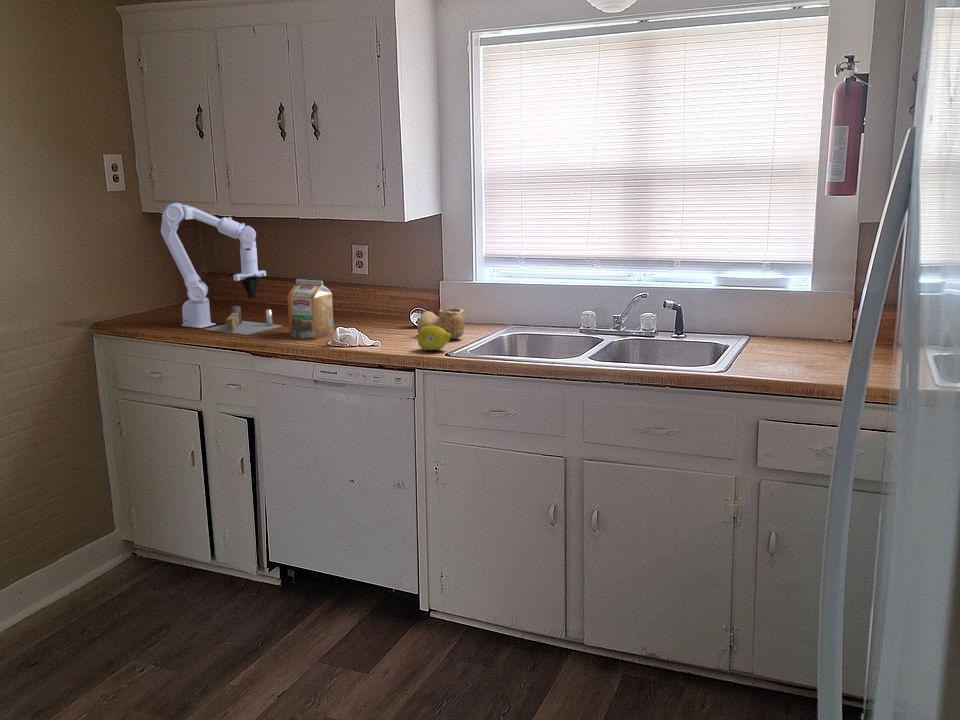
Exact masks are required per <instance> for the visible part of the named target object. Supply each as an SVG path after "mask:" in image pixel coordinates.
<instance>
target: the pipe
mask: <svg viewBox="0 0 960 720" xmlns="http://www.w3.org/2000/svg"><path fill="white" fill-rule="evenodd" d="M465 323H466V315H465V309H463V308H453V307H450V308H447V309H439V310H438V316H437V315H436V314H435V313H434V312H433V311H430V310H428V311H427V310H425V311H424V312H423V313H421V315H420V317H419V319H418V321H417V326H416V327H417V328H416V329H417V333H418V334H419V331H420V330H421V329H422V328H423V327H426V326H437V327H440V328H442V329H444V330H445V331H446V332H448V333H449V334H450V340H449V341H453V340H456V339H459V338H461V337H463V336H464V329H465ZM452 339H453V340H452Z"/></svg>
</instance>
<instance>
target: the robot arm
mask: <svg viewBox="0 0 960 720" xmlns="http://www.w3.org/2000/svg"><path fill="white" fill-rule="evenodd" d="M183 220H197V221H199V222H202V223H205V224H207V225H209V226H213V227H215V228H216V229H217V231H218V233H221V234H223V235H225V236H228V237H230V238H233V239H234V240H239V242H240V243H239V244H240V248H239V252H240V267H241V272H240V273H236V274H233V281H236V282H237V281H238V282H239V281H240V283H241V284H242V286H243V287H244V289H245V293H246V295H247V298H248V299H256V293H257V290H258V286H259V284H260V282H261V278H260V277H267V271H266V270H259V267H258V251H257V250H258V249H257V242H256V238H257V232H256V231H255V228H253V227H252V226H250V225H246V223H244V222H242V223H240V222H239V221H235V220H233V218H232V217H230V216H228V217H225V216H224V217H222V218H218V217H217V216H215V215H212V214H210V213H207V212H206V211H203V210H201V209H199V208H197V207H194V206H192V205H191V206H190V205H187V204H183V203H180V202H173V203H169V204H168V205H167V206H166V207H165V209H164V210H163V212H162V215H161V226H160V235H161V236H162V238H163V240H164V242H165V244H166V246H167V249H168V250H169V253H170V254H171V256H172V258H173V260H174V262H175V264H176V266H177V268H178V271H179V272H180V274H181V275H182V278H183V280H184V285H185V287H186V290H187V293H186V294H187V297H188V298H189V299H188V300H186V301H184V303H183V304H182V308H181V312H182V314H181V315H182V324H181V326H182V327H188V328H195V329H196V328H197V329H202V328H203V329H204V328H207V327H213V326H215V325H216V326H217V322H216V323H215V322H212V321H211V309H210V306H211V305H210V299H209V298H208V297H207V295H208V294H209V287H208V285H207V284H206V282H204V281H202V279H201V276H200V275H199V274H198V272H197V271H196V270H195V268H194V265H193V263H192V261H191V259H190V257H189V255H188V253H187V251H186V249H185V247H184V244H183V243H182V241H181V239H180V237H179V235H178V233H177V231H178V229H179V226H180V224H181V222H182V221H183Z"/></svg>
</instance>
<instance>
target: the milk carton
mask: <svg viewBox="0 0 960 720" xmlns="http://www.w3.org/2000/svg"><path fill="white" fill-rule="evenodd" d="M333 309H334V308H333V293H332V292H331V290H330V289H329V288H327V287H326V286H325V285H324V281H323V280H314V279H313V280H311V279H310V280H309V279H298V278H297V279H295V284H294V285H293V287H292V288H291V290H289V293H288V294H287V313H288V329H289V338H291V337H292V338H293V339H301V338H302V340H312V339H313V341H317V340H321V339H322V338H326V337H329V336H331V335H334V334H333V332H334V331H335V330H334V312H333V311H334V310H333ZM334 333H335V332H334ZM328 335H329V336H328Z"/></svg>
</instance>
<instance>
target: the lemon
mask: <svg viewBox="0 0 960 720" xmlns="http://www.w3.org/2000/svg"><path fill="white" fill-rule="evenodd" d="M416 340H417V343H418V346H419V347H420V348H421V349H422V350H424V351H426V350H436V351H438V350H441V349H443V348H444V347H445V346H446V344H448V343H449V342H450V341H451V340H450V334H449V333H448V332H446V331H445V330H444V329H442V328H440V327H437V326H426V327H423V328H422V329H421V330H420V331H419V333H418V334H417V335H416Z"/></svg>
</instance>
